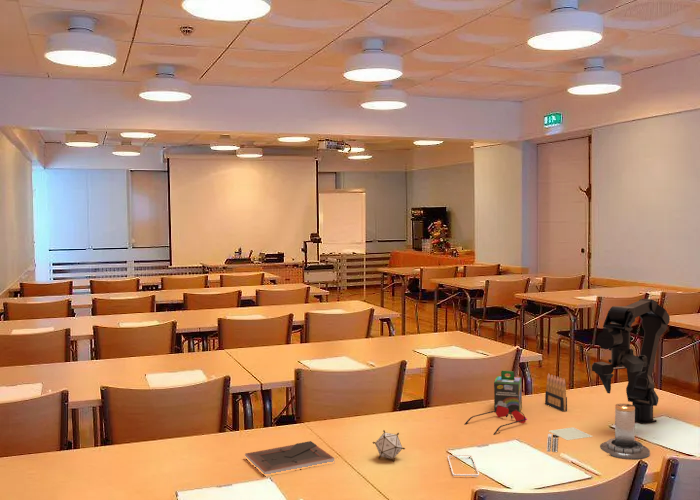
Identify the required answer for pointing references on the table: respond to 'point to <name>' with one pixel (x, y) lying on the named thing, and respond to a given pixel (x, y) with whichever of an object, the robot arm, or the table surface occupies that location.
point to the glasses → (503, 412)
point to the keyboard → (552, 443)
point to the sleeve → (625, 425)
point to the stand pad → (570, 433)
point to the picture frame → (289, 457)
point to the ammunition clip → (556, 393)
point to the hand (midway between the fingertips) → (620, 391)
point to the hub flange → (625, 450)
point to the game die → (388, 445)
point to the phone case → (463, 474)
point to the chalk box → (508, 391)
